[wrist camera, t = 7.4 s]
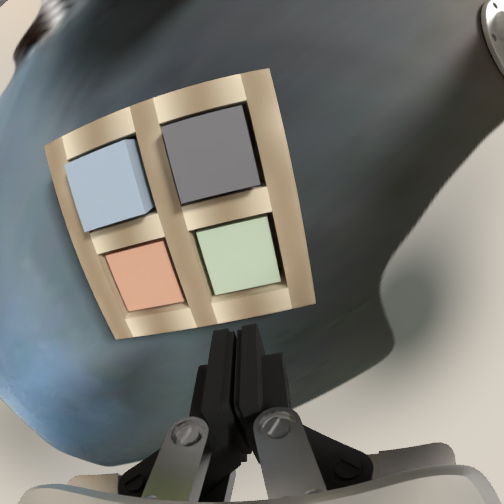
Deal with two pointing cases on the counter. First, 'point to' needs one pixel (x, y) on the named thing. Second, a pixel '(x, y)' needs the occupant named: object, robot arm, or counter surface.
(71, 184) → the key pale blue
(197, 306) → the wooden puzzle board
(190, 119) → the key charcoal
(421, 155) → the counter surface
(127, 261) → the key terracotta
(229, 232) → the key sage
